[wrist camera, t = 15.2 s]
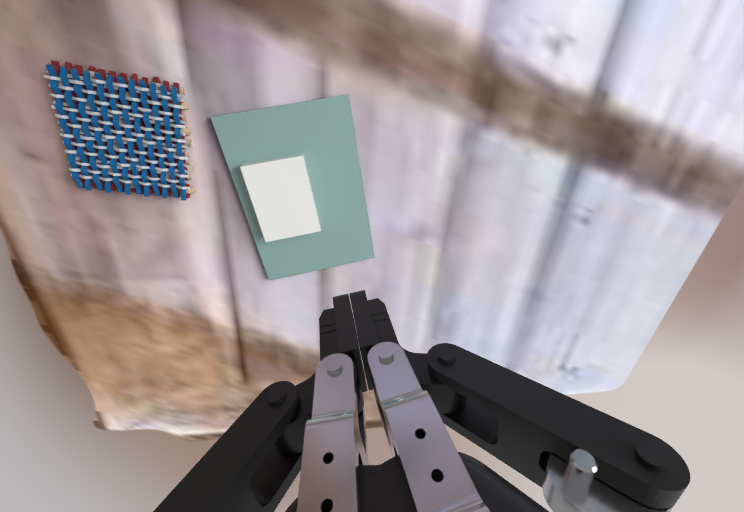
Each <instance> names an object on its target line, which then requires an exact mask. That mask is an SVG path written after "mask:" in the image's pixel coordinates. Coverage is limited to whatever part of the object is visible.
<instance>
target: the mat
mask: <svg viewBox="0 0 744 512" xmlns="http://www.w3.org/2000/svg"><path fill="white" fill-rule="evenodd" d="M211 120H212V123H213V126H214V128H215V131H216V134H217V137H218V139H219V142H220V145H221V148H222V151H223V153H224V156H225V159H226V162H227V165H228V167H229V170H230V173H231V176H232V178H233V181H234V184H235V187H236V190H237V192H238V195H239V198H240V201H241V203H242V206H243V209H244V212H245V215H246V217H247V220H248V223H249V226H250V229H251V231H252V234H253V237H254V240H255V242H256V245H257V248H258V251H259V254H260V256H261V259H262V262H263V265H264V267H265V270H266V273H267V276H268V279H269V281H270V280H274V279H279V278H283V277H288V276H293V275H297V274H302V273H306V272H311V271H316V270H320V269H325V268H329V267H334V266H338V265H343V264H348V263H352V262H357V261H361V260H366V259H371V258H375V256H374V250H373V244H372V237H371V231H370V225H369V219H368V212H367V206H366V200H365V194H364V187H363V181H362V175H361V169H360V162H359V156H358V150H357V144H356V138H355V131H354V125H353V119H352V113H351V106H350V100H349V95H343V96H337V97H331V98H325V99H319V100H313V101H307V102H300V103H294V104H288V105H282V106H276V107H270V108H264V109H258V110H251V111H245V112H239V113H233V114H227V115H221V116H215V117H211ZM297 154H303V155H304V159H305V163H306V167H307V171H308V176H309V180H310V184H311V188H312V192H313V197H314V201H315V205H316V209H317V213H318V217H319V222H320V226H321V231H319V232H314V233H309V234H304V235H300V236H295V237H290V238H285V239H280V240H275V241H270V242H265V239H264V236H263V233H262V230H261V227H260V224H259V221H258V218H257V216H256V213H255V210H254V207H253V204H252V201H251V198H250V195H249V192H248V189H247V186H246V183H245V180H244V177H243V174H242V171H241V168H240V166H242V165H243V164H246V163H252V162H258V161H263V160H269V159H275V158H280V157H286V156H292V155H297Z"/></svg>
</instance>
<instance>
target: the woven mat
mask: <svg viewBox="0 0 744 512" xmlns="http://www.w3.org/2000/svg"><path fill="white" fill-rule="evenodd" d="M51 62H52V65H46V67H47V70H46V72H47V74H50V76H48V75H44V77H43V78H47V79H51V81H50V84H49V87H51V89H52V90H53V91H54V93H55V94H50V95H51V96H52V97H55V98H56V100H55V101H54V100H53V104H55V106H53V105H51V107H52V109H57V111H58V112H59V114H54V115H55V116H56V117H57V118H60V119H59V122H58V125H60V126H61V128H60V131H64V132H65V134H63V133H60V135H59V136H63V137H64V141H62V142H63V144H65V146H66V147H67V149H68V150H66V149H65V152H67V154H68V163H70V165H71V166H72V168H70V167H69V170H70V171H72V174H70V175H71V177H72V178H73V179H74V181H75V182H76V184H77V187H79V188H85V189H86V190H90V191H91V190H92V188H91V186H92V187H93V188H97V189H98V190H105V191H106V192H110V193H111V191H115V190H116V189H115V186H116V188H117V192H125V194H129V195H130V194H131V192H135V191H136V193H137V194H143V193H144V196H150V194H152V195H153V189H154V192H155V195H156V196H160V195H163V198H168V197H170V196H171V191H172V193H173V197H176V198H179V197H180V192H181V200H186V198H189V197H190V193H195V191H196V190H195V188H194V187H190V185H189V181H188V180H192V178H191V175H190V174H187V173H189V171H190V170H194V168H193V165H191V164H189V163H186V160H188V158H189V157H190V156H189V153H188V152H187V150H185V148H186V149H187V148H188V147H187V146H189V147H192V140H186V139H184V138H185V136H186V135H190V134H191V130H190V128H186V127H185V125H184V124H185V122H187V119H186V116H185V115H183V114H182V110H181V109H189V104H188V103H186V102H184V101H183V99H182V98H183V95H185V91H184V88H180V87H179V83H174V86H172V85H169V82H168V81H163V84H161V82H160V80H159V77H154V78H153V80H154V82H148V78H145V77H142V80H138V78H137V74H132V79H130V78H127V74H125V73H120V74H121V77H119V76H116V72H113V71H109V73H110V75H108V74H106V73H105V70H102V69H98V71H99V72H97V70H96V69H95V67H92V66H90V67H89V69H90V71H86V70H83V69H82V66H79V65H75V68H76V69H74V68H72V64H71V63H69V62H65V67H63V66H60V65H59V62H58V61H52V60H51ZM60 89H61V91H60ZM170 95H171V97H170ZM180 97H182V98H180ZM121 103H122V105H121ZM141 104H142V105H141ZM152 104H153V105H152ZM142 106H143V108H142ZM161 106H162V107H163V110H164V111H162V107H161ZM69 107H70V108H69ZM171 107H173V108H174V111H173V113H172V110H171ZM85 109H86V110H85ZM133 116H134V117H133ZM76 119H77V120H76ZM154 120H155V121H154ZM163 121H164V122H163ZM173 122H175V123H176V124H173ZM135 131H136V132H135ZM164 133H166V137H165V135H164ZM80 134H81V135H80ZM155 134H156V135H155ZM174 134H175V136H176V138H174ZM72 145H73V146H72ZM166 146H167V147H168V148H167V147H166ZM176 147H177V148H176ZM114 150H115V151H114ZM158 156H159V159H158ZM167 158H168V160H169V161H167ZM178 159H179V160H178ZM75 160H76V161H75ZM177 161H178V162H177ZM130 163H131V164H130ZM159 167H160V168H159ZM178 172H180V173H178ZM108 174H109V175H108ZM133 175H134V176H133ZM151 176H152V177H153V178H152V177H151ZM178 179H180V180H178ZM160 180H161V181H160ZM170 183H171V184H170ZM179 183H180V185H179ZM143 188H144V190H143ZM162 190H163V192H162Z"/></svg>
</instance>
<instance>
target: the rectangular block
mask: <svg viewBox="0 0 744 512" xmlns="http://www.w3.org/2000/svg"><path fill="white" fill-rule="evenodd" d="M240 168H241V171H242V174H243V177H244V180H245V183H246V186H247V189H248V192H249V195H250V198H251V201H252V204H253V207H254V210H255V213H256V216H257V218H258V221H259V224H260V227H261V230H262V233H263V236H264V239H265V242H270V241H275V240H280V239H285V238H290V237H295V236H300V235H304V234H309V233H314V232H319V231H321V226H320V222H319V217H318V213H317V209H316V205H315V201H314V197H313V192H312V188H311V184H310V180H309V176H308V171H307V167H306V163H305V159H304V155H303V154H297V155H292V156H286V157H280V158H275V159H269V160H263V161H258V162H252V163H246V164H243V165H242V166H240Z"/></svg>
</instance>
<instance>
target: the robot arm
mask: <svg viewBox="0 0 744 512" xmlns="http://www.w3.org/2000/svg"><path fill="white" fill-rule="evenodd" d="M349 294H350V299H351V304H352V309H351V304H350V300H349V295H348V294H345V295H340V296H336V297H333V304H334V308H332V309H327V310H323V312H322V314H321V316H320V318H319V327H320V362H319V364H318V365H317V368H316V372H315V373H314V374H313V375H312V376H311V377H310V378H309V379H307V380H305V381H304V382H302V383H300V384H298V385H296V386H295V385H294V384H292V383H291V382H288V381H280V382H276V383H273V384H271V385H270V386H268V387H267V388H265V389H264V390H263V391H262V392H261V393H260V395H259V396H258V397H257V398H256V399H255V400H254V401H253V402H252V403H251V404H250V406H249V407H248V408H247V409H246V410H245V411H244V412H243V413H242V414H241V416H240V417H239V418H238V419H237V420H236V421H235V422H234V423H233V424H232V425H231V427H230V428H229V429H228V430H227V431H226V432H225V433H224V434H223V435H222V436H221V438H220V439H219V440H218V441H217V442H216V443H215V444H214V445H213V446H212V447H211V449H210V450H209V451H208V452H207V453H206V454H205V455H204V456H203V457H202V458H201V460H200V461H199V462H198V463H197V464H196V465H195V466H194V467H193V468H192V469H191V471H190V472H189V473H188V474H187V475H186V476H185V477H184V478H183V480H181V482H180V483H179V484H178V485H177V486H176V487H175V488H174V489H173V490H172V491H171V493H170V494H169V495H168V496H167V497H166V498H165V499H164V500H163V501H162V503H161V504H160V505H159V506H158V507H157V508H156V509H155V510H154V511H153V512H274V511H275V509H276V507H277V506H278V504H279V503H280V501H281V499H282V498H283V497H284V495H285V493H286V492H287V490H288V489H289V487H290V486H291V484H292V482H293V481H294V479H295V478H296V476H297V475H298V473H299V472H300V470H301V474H300V484H299V494H298V498H297V499H296V500H295V501H294V502H293V503H292V504H291V505H290V506H289V507H288V509H287V510H286V512H549V511H547V510H546V509H545V508H543V507H542V506H541V505H539V504H538V503H536V502H535V501H534V500H532V499H531V498H530V497H528V496H527V495H526V494H524V493H523V492H522V491H520V490H519V489H517V488H516V487H515V486H513V485H512V484H511V483H509V482H508V481H506V480H505V479H504V478H502V477H501V476H499V475H498V474H497V473H496V472H494V471H493V470H491V469H490V468H489V467H487V466H486V465H485V464H483V463H482V462H480V461H478V460H477V459H475V458H473V457H471V456H469V455H466V454H463V453H460V452H457V450H456V448H455V446H454V444H453V441H452V439H451V437H450V435H449V434H448V431H447V429H446V427H445V425H444V424H446V425H447V426H449V427H450V428H452V429H453V430H455V431H456V432H458V433H459V434H461V435H462V436H464V437H466V438H467V439H469V440H470V441H472V442H473V443H475V444H476V445H478V446H479V447H481V448H482V449H484V450H485V451H487V452H489V453H490V454H492V455H493V456H495V457H496V458H498V459H499V460H501V461H502V462H504V463H505V464H507V465H508V466H510V467H511V468H513V469H515V470H516V471H518V472H519V473H521V474H522V475H524V476H525V477H527V478H528V479H530V480H531V481H533V482H534V483H536V484H537V485H539V486H541V487H542V488H543V493H544V497H545V499H546V501H547V503H548V505H549V507H550V508H551V509H552V511H553V512H670V511H671V509H672V508H673V506H674V505H675V503H676V502H677V500H678V499H679V498H680V496H681V495H682V493H683V492H684V490H685V489H686V487H687V486H688V484H689V482H690V472H689V469H688V467H687V465H686V463H685V461H684V460H683V459H682V457H681V456H680V455H679V454H678V453H677V452H676V451H675V450H674V449H673V448H672V447H671V446H670V445H668V444H667V443H666V442H664V441H663V440H661V439H659V438H657V437H655V436H654V435H651V434H649V433H647V432H645V431H643V430H640V429H638V428H636V427H634V426H632V425H629V424H627V423H625V422H623V421H621V420H619V419H616V418H614V417H612V416H609V415H608V414H605V413H603V412H601V411H599V410H597V409H594V408H592V407H590V406H587V405H585V404H583V403H581V402H579V401H577V400H575V399H572V398H570V397H568V396H566V395H564V394H561V393H559V392H557V391H555V390H553V389H550V388H548V387H546V386H544V385H542V384H539V383H537V382H535V381H533V380H531V379H528V378H526V377H524V376H522V375H520V374H517V373H515V372H513V371H511V370H509V369H506V368H504V367H502V366H500V365H498V364H496V363H493V362H491V361H489V360H487V359H485V358H482V357H480V356H478V355H476V354H474V353H471V352H469V351H467V350H465V349H463V348H460V347H458V346H456V345H453V344H448V343H442V344H438V345H435V346H433V347H432V348H431V349H430V350H429V351H428V354H422V353H412V352H409V351H407V350H405V349H403V348H402V347H401V346H400V345H399V343H398V340H397V338H396V335H395V332H394V329H393V326H392V323H391V321H390V318H389V315H388V313H387V309H386V306H385V304H384V303H383V302H382V301H381V300H379V299H378V298H377V299H372V300H368V301H367V297H366V294H365V290H363V291H358V292H354V293H349ZM352 310H353V314H352ZM353 315H354V318H353ZM354 320H355V323H354ZM355 325H356V328H355ZM356 331H357V333H356ZM357 336H358V338H357ZM358 341H359V343H358ZM359 347H360V349H359ZM360 351H361V354H360ZM361 356H362V359H361ZM362 360H363V365H364V370H365V374H366V379H367V383H368V388H369V390H373V389H374V393H375V398H376V402H377V407H378V411H379V414H380V417H381V421H382V424H383V427H384V431H385V434H386V437H387V441H388V444H389V447H390V451H391V454H392V458H391V459H389V460H388V461H386V462H384V463H383V464H381V465H369V460H368V449H367V437H366V424H365V412H364V399H363V393H362V392H365V391H367V386H366V381H365V375H364V370H363V365H362Z"/></svg>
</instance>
